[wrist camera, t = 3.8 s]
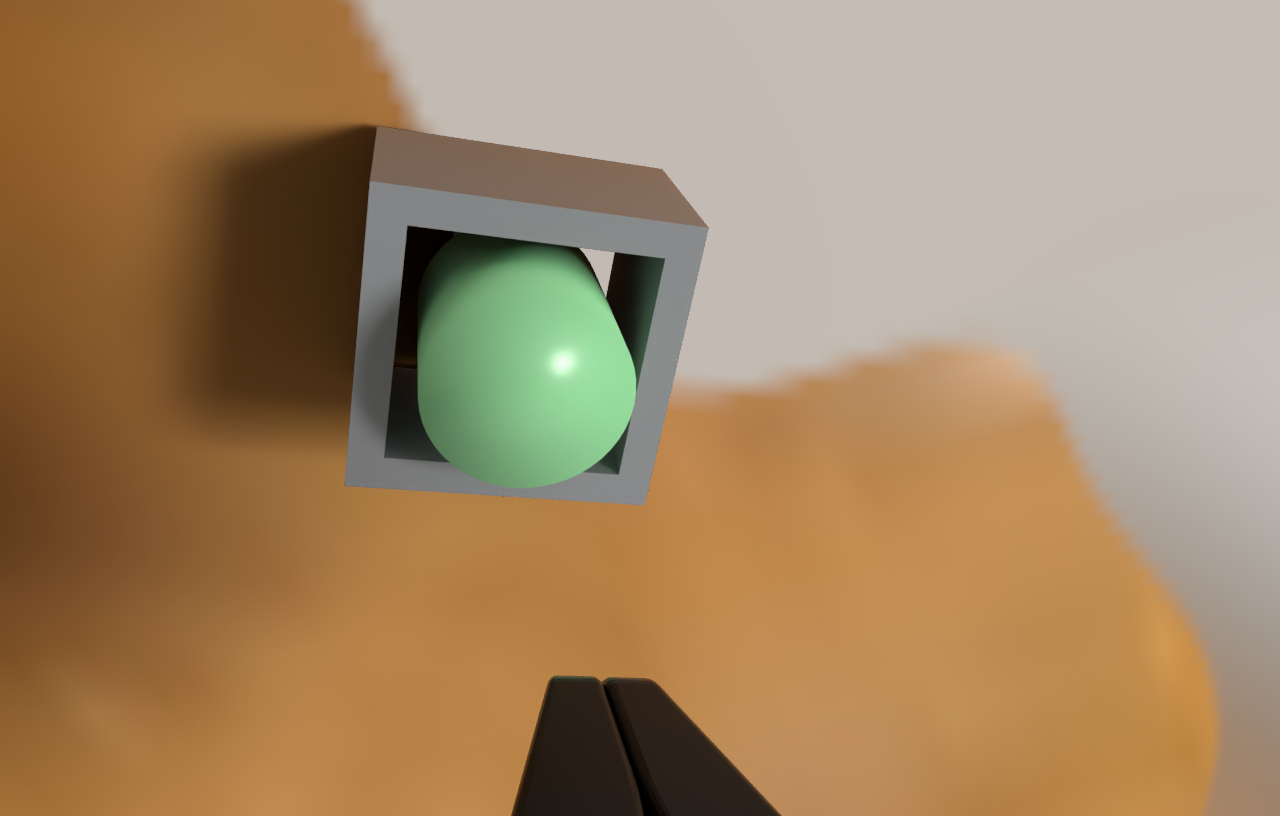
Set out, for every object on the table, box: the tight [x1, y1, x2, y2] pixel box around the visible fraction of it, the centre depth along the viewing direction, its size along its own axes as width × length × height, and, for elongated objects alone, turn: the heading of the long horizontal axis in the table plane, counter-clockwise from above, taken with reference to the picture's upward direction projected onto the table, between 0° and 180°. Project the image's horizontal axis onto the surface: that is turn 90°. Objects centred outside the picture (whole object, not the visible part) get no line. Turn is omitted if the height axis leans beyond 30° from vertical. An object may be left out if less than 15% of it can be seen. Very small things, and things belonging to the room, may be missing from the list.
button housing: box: [345, 126, 709, 505], centre depth 16 cm, size 4×4×3 cm
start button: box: [417, 232, 636, 488], centre depth 15 cm, size 3×3×3 cm
